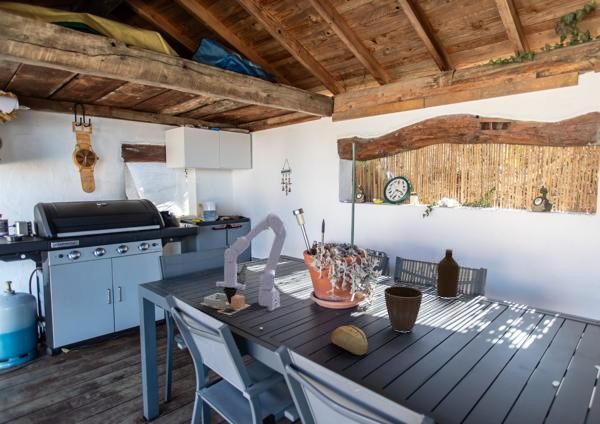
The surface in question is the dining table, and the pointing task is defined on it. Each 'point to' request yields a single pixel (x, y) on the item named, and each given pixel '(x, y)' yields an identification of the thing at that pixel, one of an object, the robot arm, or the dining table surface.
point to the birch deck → (226, 306)
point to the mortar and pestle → (242, 275)
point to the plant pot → (402, 306)
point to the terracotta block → (237, 301)
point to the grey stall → (214, 302)
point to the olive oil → (447, 276)
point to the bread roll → (350, 339)
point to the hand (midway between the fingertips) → (230, 302)
